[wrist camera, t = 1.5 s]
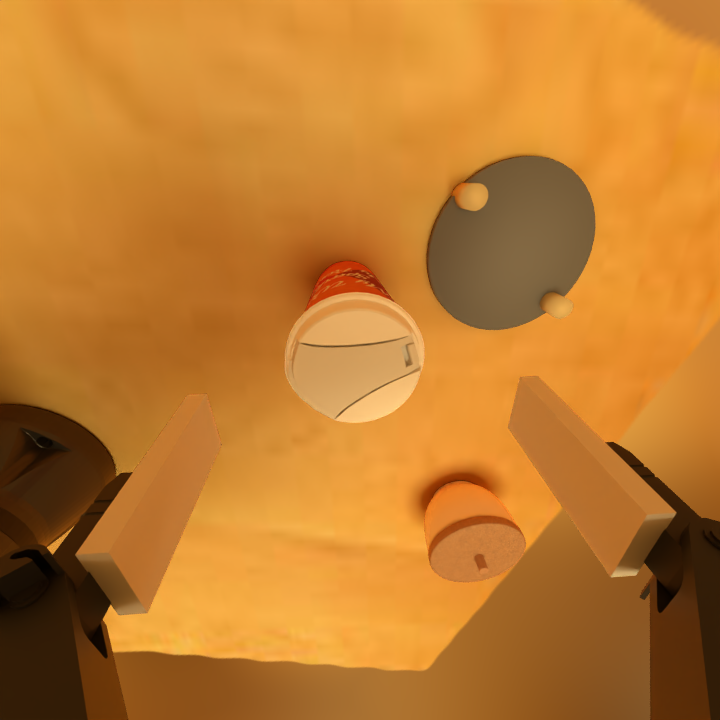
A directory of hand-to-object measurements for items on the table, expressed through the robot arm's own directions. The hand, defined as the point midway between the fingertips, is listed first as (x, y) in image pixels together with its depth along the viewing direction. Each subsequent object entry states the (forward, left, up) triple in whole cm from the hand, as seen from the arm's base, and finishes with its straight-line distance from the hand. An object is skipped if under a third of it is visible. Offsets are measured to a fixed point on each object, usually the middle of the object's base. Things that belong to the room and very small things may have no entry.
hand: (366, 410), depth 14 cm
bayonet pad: (+14, +3, -17) cm, 22 cm away
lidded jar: (+13, -28, -18) cm, 35 cm away
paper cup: (0, 0, -18) cm, 18 cm away
